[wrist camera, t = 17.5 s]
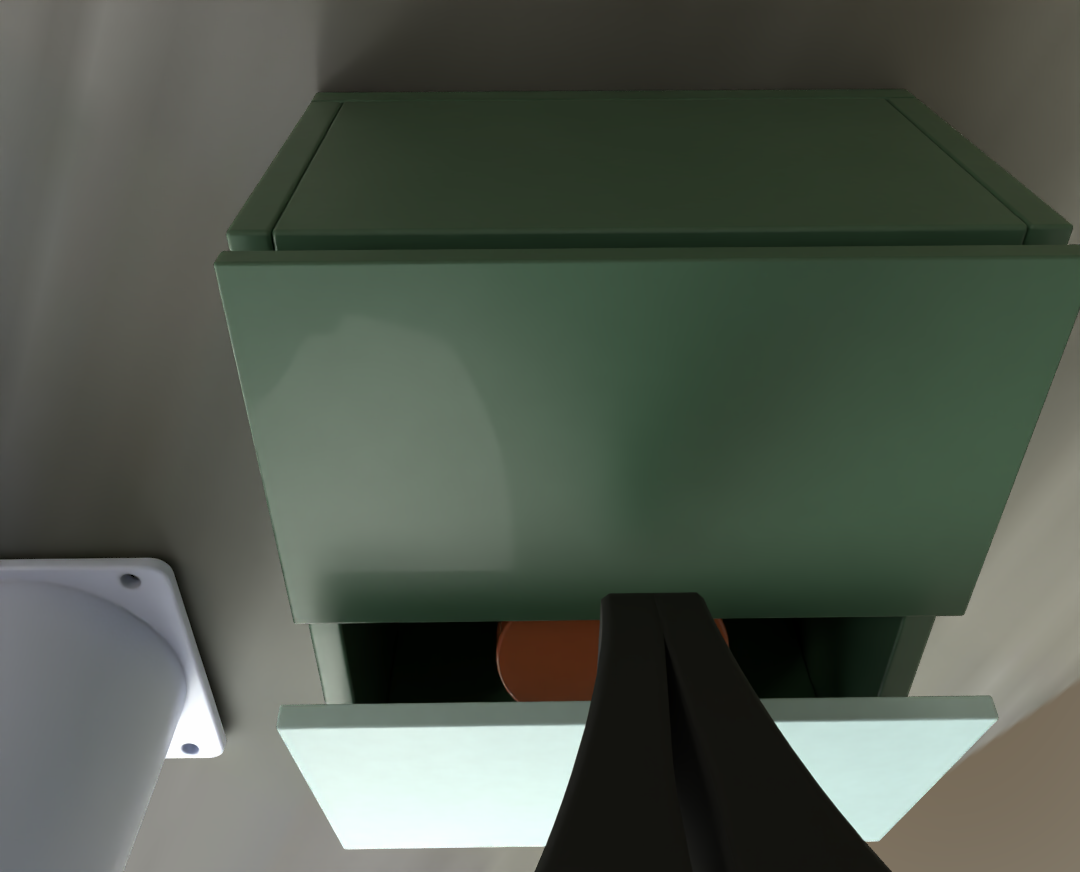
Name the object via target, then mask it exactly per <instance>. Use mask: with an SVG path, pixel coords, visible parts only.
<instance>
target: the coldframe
mask: <svg viewBox="0 0 1080 872" xmlns="http://www.w3.org/2000/svg"><path fill="white" fill-rule="evenodd" d="M1072 230H1073V225H1072V224H1071V223H1070V222H1068V221H1067V220H1066V219H1065V218H1063V217H1062V216H1061V215H1060V214H1058V213H1057V212H1056V211H1055V210H1054V209H1052V208H1051V207H1050V206H1049V205H1047V204H1046V203H1045V202H1044V201H1042V200H1041V199H1040V198H1039V197H1038V196H1036V195H1035V194H1034V193H1033V192H1031V191H1030V190H1029V189H1028V188H1026V187H1025V186H1024V185H1023V184H1022V183H1020V182H1019V181H1018V180H1017V179H1015V178H1014V177H1013V176H1012V175H1010V174H1009V173H1008V172H1007V171H1006V170H1004V169H1003V168H1002V167H1001V166H999V165H998V164H997V163H996V162H994V161H993V160H992V159H991V158H990V157H988V156H987V155H986V154H985V153H983V152H982V151H981V150H980V149H978V148H977V147H976V146H975V145H974V144H972V143H971V142H970V141H969V140H967V139H966V138H965V137H964V136H962V135H961V134H960V133H959V132H958V131H956V130H955V129H954V128H953V127H951V126H950V125H949V124H948V123H946V122H945V121H944V120H943V119H942V118H940V117H939V116H938V115H937V114H935V113H934V112H933V111H932V110H930V109H929V108H928V107H927V106H926V105H924V104H923V103H922V102H921V101H919V100H918V99H916V97H915V96H913V95H912V94H911V93H910V92H909V91H907V90H906V89H839V90H663V91H487V92H318V93H316V95H315V96H314V98H313V99H312V101H311V103H310V105H309V106H308V108H307V109H306V111H305V112H304V114H303V115H302V117H301V119H300V120H299V122H298V123H297V125H296V126H295V128H294V129H293V131H292V132H291V134H290V135H289V137H288V138H287V140H286V141H285V143H284V145H283V146H282V148H281V149H280V151H279V152H278V154H277V155H276V157H275V158H274V160H273V161H272V163H271V164H270V166H269V167H268V169H267V171H266V172H265V174H264V175H263V177H262V178H261V180H260V181H259V183H258V184H257V186H256V187H255V189H254V190H253V192H252V193H251V195H250V197H249V198H248V200H247V201H246V203H245V204H244V206H243V207H242V209H241V210H240V212H239V213H238V215H237V216H236V218H235V219H234V221H233V223H232V224H231V226H230V227H229V229H228V230H227V233H226V236H227V241H228V246H229V250H230V251H223V252H221V253H220V254H219V256H218V257H217V259H216V260H215V262H214V269H215V273H216V278H217V282H218V286H219V291H220V295H221V300H222V304H223V309H224V313H225V318H226V322H227V327H228V331H229V336H230V340H231V344H232V349H233V353H234V358H235V362H236V367H237V371H238V376H239V380H240V385H241V389H242V393H243V398H244V402H245V407H246V411H247V416H248V420H249V425H250V429H251V434H252V438H253V442H254V447H255V451H256V456H257V460H258V465H259V469H260V474H261V478H262V483H263V487H264V492H265V496H266V500H267V505H268V509H269V514H270V518H271V523H272V527H273V532H274V536H275V541H276V545H277V549H278V554H279V558H280V563H281V567H282V572H283V576H284V581H285V585H286V590H287V594H288V598H289V603H290V607H291V612H292V616H293V621H294V623H296V624H309V629H310V633H311V638H312V643H313V648H314V652H315V657H316V662H317V666H318V671H319V676H320V681H321V685H322V690H323V695H324V700H325V704H390V703H465V702H516V701H515V700H514V699H513V698H512V697H511V696H510V694H509V693H508V692H507V691H506V689H505V687H504V685H503V683H502V682H501V680H500V677H499V674H498V671H497V667H496V659H495V658H496V631H497V625H498V621H565V620H600V606H601V599H602V598H603V597H605V596H606V595H608V594H609V593H684V592H697V593H698V594H699V595H700V596H702V597H703V598H704V600H705V602H706V604H707V607H708V609H709V611H710V613H711V615H712V617H713V619H725V623H726V627H727V631H728V636H729V644H730V651H731V653H732V654H733V656H734V658H735V659H736V661H737V663H738V665H739V666H740V668H741V670H742V672H743V673H744V675H745V677H746V678H747V680H748V682H749V683H750V685H751V686H752V688H753V690H754V691H755V693H756V694H757V696H758V697H759V699H767V698H843V697H908V694H909V691H910V688H911V685H912V683H913V680H914V677H915V674H916V671H917V668H918V666H919V663H920V660H921V657H922V654H923V651H924V649H925V646H926V643H927V640H928V637H929V634H930V632H931V629H932V626H933V623H934V620H935V617H936V616H962V615H964V614H965V611H966V608H967V606H968V603H969V600H970V598H971V595H972V592H973V590H974V587H975V584H976V582H977V579H978V576H979V574H980V571H981V569H982V566H983V563H984V561H985V558H986V555H987V553H988V550H989V547H990V545H991V542H992V539H993V537H994V534H995V532H996V529H997V526H998V524H999V521H1000V518H1001V516H1002V513H1003V510H1004V508H1005V505H1006V502H1007V500H1008V497H1009V495H1010V492H1011V489H1012V487H1013V484H1014V481H1015V479H1016V476H1017V473H1018V471H1019V468H1020V465H1021V463H1022V460H1023V457H1024V455H1025V452H1026V450H1027V447H1028V444H1029V442H1030V439H1031V436H1032V434H1033V431H1034V428H1035V426H1036V423H1037V420H1038V418H1039V415H1040V413H1041V410H1042V407H1043V405H1044V402H1045V399H1046V397H1047V394H1048V391H1049V389H1050V386H1051V383H1052V381H1053V378H1054V376H1055V373H1056V370H1057V368H1058V365H1059V362H1060V360H1061V357H1062V354H1063V352H1064V349H1065V346H1066V344H1067V341H1068V338H1069V336H1070V333H1071V331H1072V328H1073V325H1074V323H1075V320H1076V317H1077V315H1078V312H1079V309H1080V245H1067V244H1068V241H1069V238H1070V236H1071V233H1072Z"/></svg>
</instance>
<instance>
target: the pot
mask: <svg viewBox="0 0 1080 872" xmlns="http://www.w3.org/2000/svg"><path fill="white" fill-rule="evenodd" d="M714 621H715V623H716V625H717V627H718V629H719V631H720V633H721V634H722V636H723V638H724V640H725V642H726V644H727V645H728V647H729V649H730V644H729V636H728V631H727V627H726V623H725V619H714ZM599 625H600V620H565V621H498V625H497V631H496V658H495V659H496V667H497V671H498V674H499V677H500V680H501V682H502V683H503V685H504V687H505V689H506V691H507V692H508V693H509V694H510V696H511V697H512V698H513V699H514V700H515V701H516V702H541V701H591V699H592V694H593V689H594V685H595V680H596V675H597V662H598V644H599Z"/></svg>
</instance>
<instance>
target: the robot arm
mask: <svg viewBox="0 0 1080 872" xmlns="http://www.w3.org/2000/svg"><path fill="white" fill-rule="evenodd" d="M128 574H131V575H134V576H136V577H138V578H134V577H131V576H130V575H128ZM225 745H226V735H225V732H224V729H223V726H222V723H221V720H220V717H219V713H218V710H217V707H216V704H215V701H214V698H213V695H212V691H211V688H210V685H209V682H208V679H207V676H206V673H205V669H204V666H203V663H202V660H201V657H200V654H199V651H198V647H197V644H196V641H195V638H194V635H193V632H192V629H191V626H190V622H189V619H188V616H187V613H186V610H185V607H184V604H183V600H182V597H181V594H180V591H179V588H178V585H177V582H176V578H175V575H174V572H173V570H172V569H171V567H170V566H169V565H168V564H167V563H165V562H164V561H162V560H159V559H155V558H88V559H0V872H124V870H125V867H126V864H127V862H128V859H129V856H130V853H131V851H132V848H133V845H134V842H135V840H136V837H137V834H138V831H139V829H140V826H141V823H142V820H143V818H144V815H145V812H146V810H147V807H148V804H149V801H150V799H151V796H152V793H153V790H154V788H155V785H156V782H157V779H158V777H159V774H160V771H161V768H162V766H163V763H164V760H165V758H210V757H216V756H218V755H220V754H222V752H223V751H224V749H225ZM535 872H892V871H891V870H890V869H889V868H888V867H887V866H886V865H885V864H884V862H883V861H882V860H881V859H880V858H879V857H878V856H877V855H876V853H875V852H874V851H873V850H872V849H871V848H870V847H869V846H868V844H867V843H866V842H865V841H864V840H863V839H862V837H861V836H860V835H859V834H858V833H857V831H856V830H855V829H854V828H853V827H852V825H851V824H850V823H849V822H848V821H847V819H846V818H845V817H844V816H843V815H842V813H841V812H840V811H839V810H838V808H837V807H836V806H835V805H834V803H833V802H832V801H831V800H830V798H829V797H828V796H827V794H826V793H825V792H824V791H823V789H822V788H821V787H820V785H819V784H818V783H817V781H816V780H815V779H814V777H813V776H812V775H811V773H810V772H809V771H808V769H807V768H806V766H805V765H804V764H803V762H802V761H801V760H800V758H799V757H798V755H797V754H796V753H795V751H794V750H793V749H792V747H791V746H790V744H789V743H788V741H787V740H786V738H785V737H784V736H783V734H782V733H781V731H780V730H779V728H778V727H777V725H776V724H775V722H774V721H773V719H772V718H771V716H770V714H769V713H768V711H767V710H766V708H765V707H764V705H763V704H762V702H761V701H760V699H759V697H758V696H757V694H756V693H755V691H754V690H753V688H752V686H751V685H750V683H749V682H748V680H747V678H746V677H745V675H744V673H743V672H742V670H741V668H740V666H739V665H738V663H737V661H736V659H735V658H734V656H733V654H732V653H731V651H730V649H729V647H728V645H727V644H726V642H725V640H724V638H723V636H722V634H721V633H720V631H719V629H718V627H717V625H716V623H715V621H714V619H713V617H712V615H711V613H710V611H709V609H708V607H707V604H706V602H705V600H704V598H703V597H702V596H700V595H699V594H698V593H697V592H684V593H609V594H608V595H606V596H605V597H603V598H602V599H601V606H600V625H599V644H598V662H597V675H596V680H595V685H594V689H593V694H592V699H591V703H590V708H589V712H588V717H587V721H586V725H585V729H584V732H583V736H582V739H581V742H580V746H579V749H578V753H577V756H576V759H575V763H574V766H573V770H572V773H571V776H570V779H569V782H568V785H567V788H566V791H565V794H564V797H563V800H562V803H561V806H560V809H559V811H558V814H557V817H556V820H555V822H554V825H553V827H552V830H551V833H550V835H549V838H548V841H547V843H546V846H545V848H544V851H543V853H542V855H541V858H540V860H539V863H538V865H537V867H536V870H535Z"/></svg>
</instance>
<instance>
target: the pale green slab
mask: <svg viewBox="0 0 1080 872" xmlns="http://www.w3.org/2000/svg"><path fill="white" fill-rule="evenodd" d="M760 701H761V702H762V704H763V705H764V707H765V708H766V710H767V711H768V713H769V714H770V716H771V718H772V719H773V721H774V722H775V724H776V725H777V727H778V728H779V730H780V731H781V733H782V734H783V736H784V737H785V738H786V740H787V741H788V743H789V744H790V746H791V747H792V749H793V750H794V751H795V753H796V754H797V755H798V757H799V758H800V760H801V761H802V762H803V764H804V765H805V766H806V768H807V769H808V771H809V772H810V773H811V775H812V776H813V777H814V779H815V780H816V781H817V783H818V784H819V785H820V787H821V788H822V789H823V791H824V792H825V793H826V794H827V796H828V797H829V798H830V800H831V801H832V802H833V803H834V805H835V806H836V807H837V808H838V810H839V811H840V812H841V813H842V815H843V816H844V817H845V818H846V819H847V821H848V822H849V823H850V824H851V825H852V827H853V828H854V829H855V830H856V831H857V833H858V834H859V835H860V836H861V837H862V839H863V840H864V841H879V840H880V839H881V838H882V837H883V836H884V835H885V834H886V833H887V832H888V831H889V830H890V829H891V828H892V827H893V826H894V825H895V824H896V823H897V822H898V821H899V820H900V819H901V818H902V817H903V816H904V815H905V814H906V813H907V812H908V811H909V810H910V809H911V808H912V807H913V806H914V804H916V803H917V802H918V801H919V800H920V798H922V796H924V795H925V794H926V793H927V791H928V790H929V789H930V788H931V787H932V786H933V785H934V784H935V783H936V782H937V781H938V780H939V779H940V778H941V777H942V776H943V775H944V774H945V773H946V772H947V771H948V770H949V769H950V768H951V767H952V766H953V765H954V764H955V763H956V762H957V761H958V760H959V759H960V758H961V757H962V756H963V755H964V754H965V753H966V752H967V751H968V750H969V749H970V748H971V747H972V746H973V745H974V744H975V742H976V741H977V740H978V739H979V738H980V737H981V736H982V735H983V734H984V733H985V732H986V731H987V730H988V729H989V728H990V727H991V726H992V725H993V724H994V723H995V722H996V721H997V720H998V714H997V711H996V708H995V705H994V702H993V699H992V697H991V696H918V697H843V698H767V699H760ZM590 703H591V701H541V702H465V703H390V704H314V705H281V706H280V708H279V714H278V720H277V726H276V728H277V730H278V732H279V734H280V736H281V737H282V739H283V741H284V743H285V744H286V746H287V748H288V750H289V752H290V753H291V755H292V757H293V759H294V760H295V762H296V764H297V766H298V768H299V769H300V771H301V773H302V775H303V776H304V778H305V780H306V782H307V783H308V785H309V787H310V789H311V791H312V792H313V794H314V796H315V798H316V799H317V801H318V803H319V805H320V806H321V808H322V810H323V812H324V814H325V815H326V817H327V819H328V821H329V822H330V824H331V826H332V828H333V830H334V831H335V833H336V835H337V837H338V838H339V840H340V842H341V844H342V845H343V847H344V849H393V848H460V847H526V846H546V843H547V841H548V838H549V835H550V833H551V830H552V827H553V825H554V822H555V820H556V817H557V814H558V811H559V809H560V806H561V803H562V800H563V797H564V794H565V791H566V788H567V785H568V782H569V779H570V776H571V773H572V770H573V766H574V763H575V759H576V756H577V753H578V749H579V746H580V742H581V739H582V736H583V732H584V729H585V725H586V721H587V717H588V712H589V708H590Z"/></svg>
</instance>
